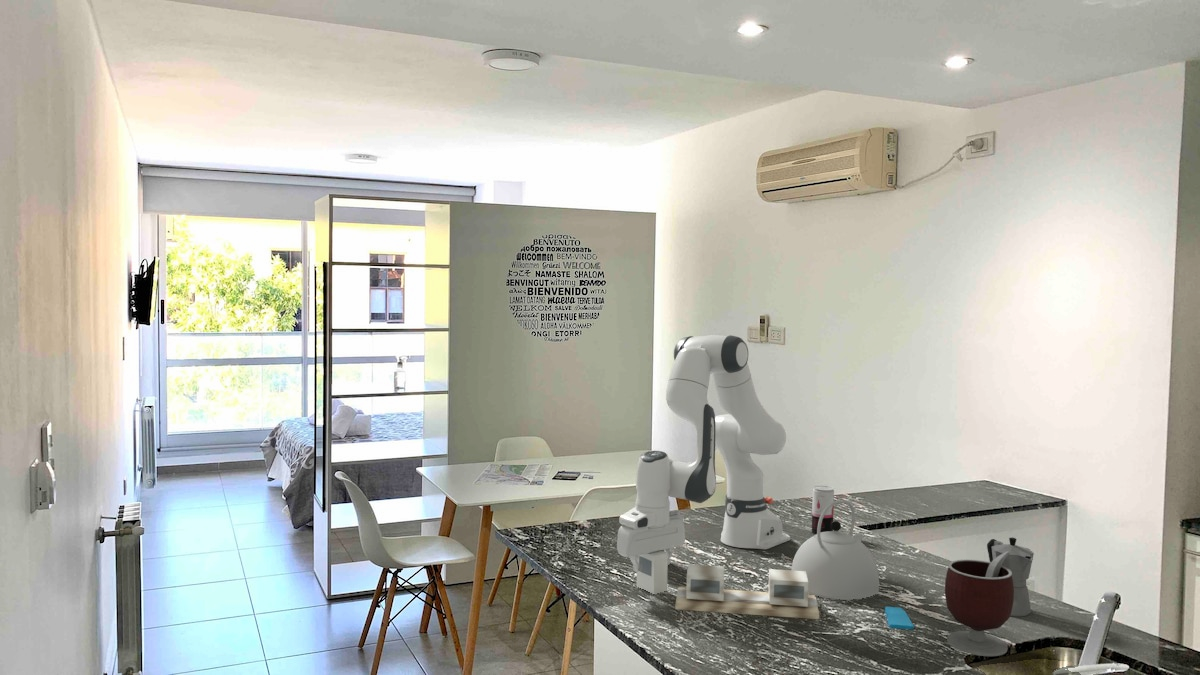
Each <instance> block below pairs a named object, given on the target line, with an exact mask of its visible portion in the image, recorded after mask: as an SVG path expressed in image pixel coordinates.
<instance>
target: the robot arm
mask: <svg viewBox="0 0 1200 675" xmlns="http://www.w3.org/2000/svg"><path fill="white" fill-rule="evenodd" d="M673 359H674V362H673V365H672V367H671V370H670V374H669V376H668V377H669V378H668V383H667V387H666V390H665V391H666V392H665V400H666V404H667V406H668V407H669V409H670V410H671V411H672V412H673V413H674V414H675V415H676V416H678V417H680V418H681V419H683V420H685V421H686V422H689V423H690V424H692V425H693V426H694V427H695V429H696V459H695V461H693V462H687V461H686V462H685V461H680V460H679V461H678V460H674V459H671V458H669V455H668V453H666V452H665V451H662V450H648V451H645V452H643V453H642V454H640V456H639V458H638V461H637V465H636V466H637V468H636V476H635V479H636V480H635V490H636V493H637V494H636V499H635V506H633V508H631V509H630V510H628V511H627V512H624V513H623V514H621V515H620V516H619V519H618V521H619V524H621V525H620V527H619V528H618V532H617V540H616V542H617V543H616V544H617V545H616V550H617V553H618V554H619V555H620V556H622V557H625V558H629V560H630V562H631V563H632V570H633V571H634V572H635V573H637V572H639V571H641V570H642V569H641V568H642V565H641V564H639V563H638V561H637V559H639V555H641V554H646V553H651V552H655V551H660V550H664V551H665V552H666V553H668V565H670V563H671V557H672V555H673V553H674V552H675V551H674V550H675V548H678V547H681V546H682V547H683V546H684V544H685V542H686V533H685V532H686V531H685V524H684V515H683V513H682V512H681V511H679V510H674V511H671V510H670V508H671V502H670V499H669V497H670V498H675V499H681V500H687V501H690V502H694V503H696V504H702V503H704V502H706V501H708V499H710V498H711V497H713V495H714V494H715V491H716V488H717V478H716V476H717V475H716V463H715V462H716V461H715V459H716V449H717V450H718V451H719V453H720V455H721V458H722V460H723V463H724V466H725V471H726V472H725V473H726V495H725V500H724V502H725V503H724V507H725V513H724V519H723V527H722V531H721V532H720V533H721V534H720V536H721V537H720V542H721V543H722V544H724V545H727V546H730V547H734V548H740V549H741V548H742V549H758V550H768V549H771V548H773V547H775V546H778V545H781V544H783V543H786V542H789V541H790V540H791V536H790V535H789V534H787V533H785V532H784V531H783V523H782V520H781V518H779V517H778V516H777V515H776V514H774V513H773V512H772V511H771V510H770V509H769V508H768V505H772V504H773V503H774V499H773V497H769V496H766V497H764V478H765V477H764V476H765V475H764V473H763V472H764V471H763V470H762V469H761V467H760V466H759V465H757V463H756V462H754V460H753V459H752V456H751V454H754V455H755V454H756V455H759V456H767V455H769V456H770V455H777V454H779V453H780V452H781V451H782V450H783V448H784V447H785V445H786V441H787V434H786V429H785V428H784V426H783V425H782V424H781V423H780V422H779V421H777V420H776V419H774V417H772V416H771V415H770V414H769V413H768V411H767V410H766V409H765V407H764V405H762V403H761V402H760V400H759V398H758V396H757V392H756V389H755V386H754V381H753V378H752V374H751V370H750V367H749V365H748V364H749V363H748V360H749V347H748V344H747V343H746V342H745V341H744V340H743V338H742V337H739V336H736V335H723V334H722V335H721V334H708V335H699V336H698V335H697V336H693V335H689V336H686V337H683V338H680V339H679V340H678V341H677V343H676V344H675V346H674V349H673ZM710 375H712V377H713V382H714V386H715V389H716V390H715V391H716V394H717V398H718V402H719V405H720V406H721V408H722V409H723V410H724V411H725V412H727V414H726V413H725V414H718V415H716V414H715V411H714V408H713V407H712V406H711V405H709V400H708V390H709V385H710V377H711V376H710ZM767 504H768V505H767Z"/></svg>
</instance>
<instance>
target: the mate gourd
mask: <svg viewBox="0 0 1200 675" xmlns="http://www.w3.org/2000/svg"><path fill="white" fill-rule="evenodd" d="M1007 555H1010V553H1009V552H1008V551H1007V552H1005V553H1003V554H1001V555H1000V556H998V557H996V558H995V559H994V560H993V561H992V562H990V561H986V560H978V559H956V560H953V561H950V562H949V563H948V568H947V571H946V575H945V581H944V596H945V603H946V607H947V610H948V612H950V614H951V615H952V617H953V619H954V620H955V621H956V622H958V623H960V624H961V625H964V626H965V627H968V628H969V629H970V630H958V631H957V630H956V631H953V632H950V633H949V634H947V637H946V641H947V643H948V644H949V645H950V646H951V647H952V648H954V649H956V650H958V651H960V652H962V651H963V652H962V653H965V652H966V654H969V653H971V654H970V655H974V656H979V657H982V656H983V657H998V656H999V657H1000V656H1003V655H1005V654H1006V653H1007V652H1008V647H1009V646H1008V644H1007V642H1006V641H1004V640H1002V639H1001V638H1000V637H997V636H995V635H992V634H988V633H986V632H985V631H988V630H995V629H1000V628H1001V627H1002V626H1004V624H1005V623H1006V622H1007V621H1008V620H1009V619H1010V618H1011V616H1010V615H1011V612H1012V607H1013V601H1014V586H1013V579H1012V572H1011V570H1009V569H1008V568H1006V567H1004V566H1002V563H1003V561H1004V560H1005V558H1006V557H1007Z"/></svg>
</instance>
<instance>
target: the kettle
mask: <svg viewBox="0 0 1200 675" xmlns="http://www.w3.org/2000/svg"><path fill="white" fill-rule="evenodd" d="M838 504H847V505H848V506H849V508H850V511H851V523H850V530H849V533H847V532H841V531H840V530H841V528H842V524H841V522H840V521H838V520H833V522H832V523H831V528H832V530H833V531H826V532H821V533H820V530H821V523H822V520H823V517H824V515H825V513H826V512H827V510H828V509H829V508H830V507H832V506H833V505H834V506H835V505H838ZM855 512H856V511H855V507H854V505H853V504H852V503H851V501H849V500H846V499H839V500H834V502H832V503H830V504H829V505H828V506H827V507H826V508H825V509H824V510H823V512H822V514H821V516H820V519H819V522H818V528H817V534H816V535H814V534H813V535H812V536H811V537H809V538H808V539H807V540H805V541H804V542H803V543H802V544H801V546H799V548H798V549H797V551H796V553H795V554H794V556H793V557H794V558H793V560H792V564H791V570H792V571H806V574H807V579H808V595H815V597H818V596H819V598H823V599H829V598H830V599H829V600H831V599H832V600H839V599H840V600H842V601H843V600H844V601H846V600H847V601H854V600H853V599H857V600H863V599H862V598H864V599H867V598H866V597H869V598H871V597H870V596H872V597H874V596H876V595H877V594H879V592H878V591H880V574H879V568H878V566H877V565H878V564H877V563H876V559H875V557H874V556H873V554H872V552H871V551H870V550H869V549H868V547H867V546H866V545H865V544H864V543H863V542H862V540H863V538H864V535H863V534H861V533H858V532H856V533H855V534H854V535H853V532H854V530H855V524H856V523H855V521H856V513H855ZM875 594H876V595H875ZM873 595H874V596H873Z"/></svg>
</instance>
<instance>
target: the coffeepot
mask: <svg viewBox="0 0 1200 675" xmlns="http://www.w3.org/2000/svg"><path fill="white" fill-rule="evenodd" d="M1008 541H1009V544H1008V543H1004V542H1002V541H999V540H996V539H994V538H991V539H990V540H989V541H988V542H987V544H986V549H987V553H988V559H989V560H988V561H989V562H992V561H993V560H994V559H995V558H996V557H998V556H1000V555H1001V554H1003V553H1005V552H1007V551H1008V552H1009V553H1010V555H1007V557H1006V558H1005V560H1004V561H1003V563H1002V566H1004V567H1006V568H1008V569H1009V570H1011V572H1012V579H1013V586H1014V601H1013V607H1012V612H1011V615H1010V617H1019V618H1020V617H1026V616H1029V615H1030V614H1031V613H1032V610H1031V602H1030V597H1029V588H1028V586H1027V580H1028V579H1029V578H1030V575H1031V574H1030V573H1031V569H1032V563H1033V560H1034V555H1035V553H1034V552H1033V551H1032V550H1031V549H1030V548H1027V547H1023V546H1019V545H1016V543H1017V538H1016V537H1009V538H1008Z"/></svg>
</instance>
